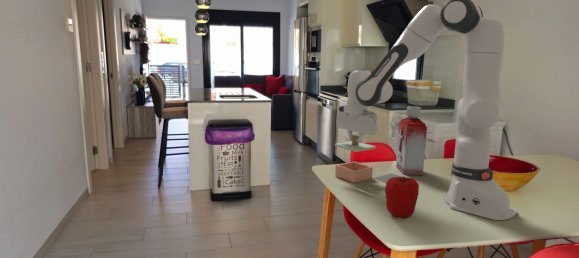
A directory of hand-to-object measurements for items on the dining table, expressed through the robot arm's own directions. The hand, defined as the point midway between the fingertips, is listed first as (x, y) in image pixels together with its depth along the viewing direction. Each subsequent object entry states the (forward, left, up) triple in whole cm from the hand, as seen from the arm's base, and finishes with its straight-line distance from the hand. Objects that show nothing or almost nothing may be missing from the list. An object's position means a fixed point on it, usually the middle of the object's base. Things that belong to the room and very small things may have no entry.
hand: (355, 141), depth 158 cm
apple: (-36, +16, -16) cm, 43 cm away
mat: (-12, -12, -16) cm, 23 cm away
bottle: (-7, -29, -16) cm, 34 cm away
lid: (0, 0, -2) cm, 2 cm away
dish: (0, 0, -16) cm, 16 cm away
